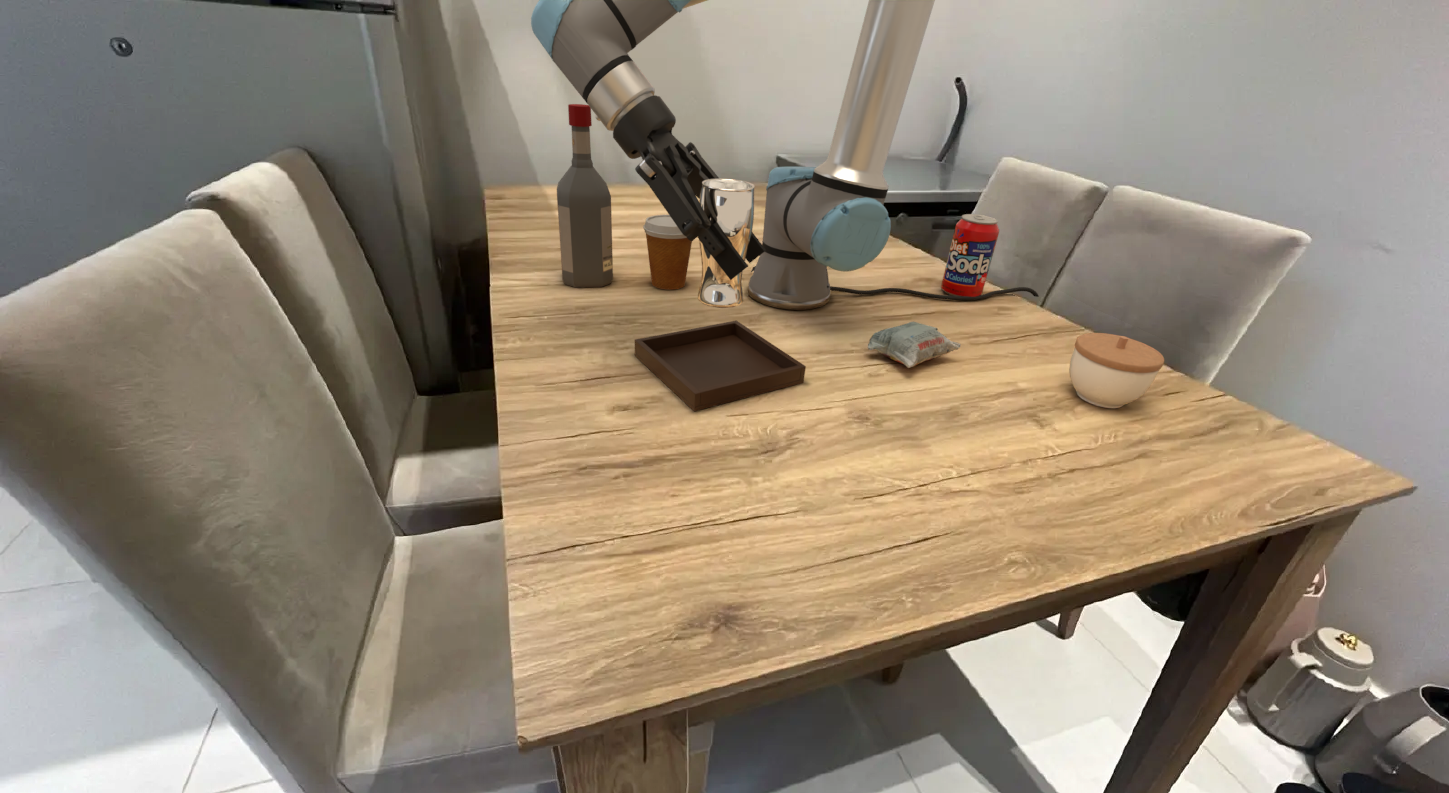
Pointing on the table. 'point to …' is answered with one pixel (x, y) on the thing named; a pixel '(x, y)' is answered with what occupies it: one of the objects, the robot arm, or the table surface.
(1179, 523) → the table surface
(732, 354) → the serving tray
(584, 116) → the liquor
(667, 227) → the disposable coffee cup
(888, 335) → the packaged food
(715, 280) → the beer glass
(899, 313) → the table surface
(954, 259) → the soda can
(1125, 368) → the trinket box
